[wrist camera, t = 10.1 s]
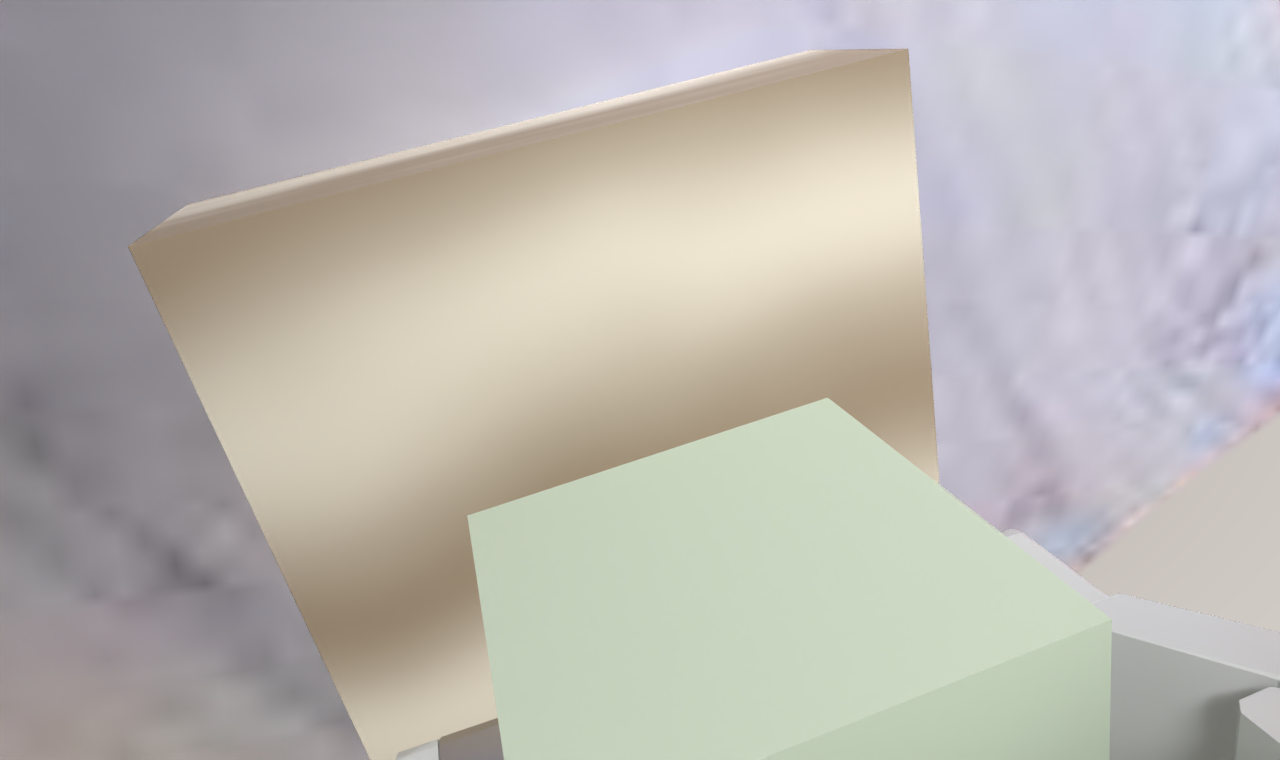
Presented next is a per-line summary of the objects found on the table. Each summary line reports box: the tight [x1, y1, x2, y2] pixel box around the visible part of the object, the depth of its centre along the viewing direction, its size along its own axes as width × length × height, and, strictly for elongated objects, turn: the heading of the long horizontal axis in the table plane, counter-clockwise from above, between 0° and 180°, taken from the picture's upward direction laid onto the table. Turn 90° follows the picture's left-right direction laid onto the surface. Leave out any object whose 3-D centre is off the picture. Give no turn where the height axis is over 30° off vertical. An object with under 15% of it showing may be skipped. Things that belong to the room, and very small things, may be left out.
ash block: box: [128, 49, 939, 760], centre depth 17 cm, size 12×12×4 cm
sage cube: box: [467, 398, 1112, 760], centre depth 10 cm, size 5×5×5 cm
